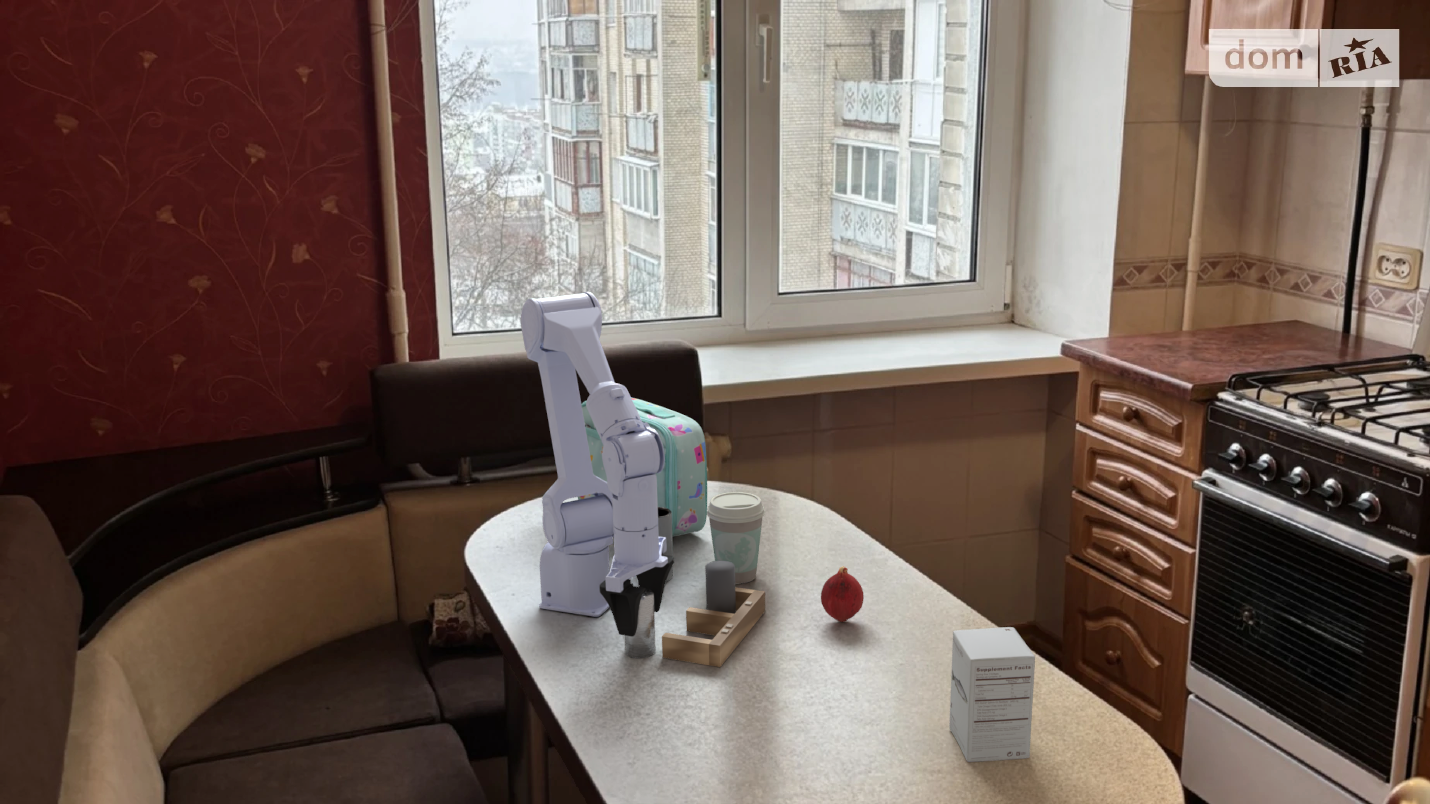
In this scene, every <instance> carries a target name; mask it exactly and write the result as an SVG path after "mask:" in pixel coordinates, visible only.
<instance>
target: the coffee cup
mask: <svg viewBox="0 0 1430 804" xmlns="http://www.w3.org/2000/svg"><path fill="white" fill-rule="evenodd" d="M765 513H766V512H765V507H764V505H763V503H762V499H761V498H760V496H758V495H756V494H753V493H750V492H742V491H732V492H724V493H723V492H722V493H720V494H715V496H713V497H712V498H711V499H710V501H709V504H708V505H707V517H708V519H709V526H710V527H709V528H710V536H711V542H712V549H713V555H714V561H728V562H731V563H733V564H734V565H735V585H739V584H741V583H742V584H747V583H749V582H752V581H753V579H754V580H755V579H756V578H757V570H758V562H759V552H760V544H761V537H762V536H761V533H762V524H763V517H764V516H765V515H766V514H765ZM742 584H741V585H742Z"/></svg>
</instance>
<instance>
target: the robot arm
mask: <svg viewBox="0 0 1430 804" xmlns="http://www.w3.org/2000/svg"><path fill="white" fill-rule="evenodd" d="M520 312H521V313H520V317H519V318H520V320H519V322H520V327H521V328H520V329H521V333H522V340H523V345H524V346H523V347H524V350H525V353H526V357H527V359H528V360H530V361H533V362H535V363H537V365H538V370H539V375H540V379H541V385H542V391H543V398H544V402H545V410H546V413H547V415H546V416H547V419H548V427H549V431H550V438H551V444H552V449H553V455H554V460H555V461H554V462H555V467H556V472H557V479H556V480H555V482H554V483H552V485H551V486H550V487H549V488H548V489H547V491H546V492H545V493H544V494H543V496H542V498H541V499H542V500H541V503H542V504H541V506H542V528H543V533H544V536H545V539H546V541H547V542H546V544H545V545H544V547H543V548H542V550H541V554H540V558H539V579H540V580H539V581H540V596H541V602H540V603H539V604H538V607H539V609H543V610H550V611H555V612H561V613H562V612H563V613H569V614H575V615H581V616H589V617H595V618H598V617H600V616H601V615H603V614H604V613H605V612H606V611H607V610H608V609H610V611H611V613H612V616H613V620H614V623H615V626H616V629H617V632H618V635H620V636H624V635H625V636H632V637H633V636H634V635H635V634H636V630H637V622H638V610H639V605H640V601H641V598H642V595H643V593H644V590H645V589H648V590H651V591H652V592H653V593H654V613H659V612H660V609H661V607H662V606H661V605H662V600H663V596H664V590H665V586H666V584H667V581H666V580H667V577H668V574H669V572H670V569H671V567H672V566H673V567H674V563H675V558H674V556H673V557H672V556H667V555H663V553H665V552H666V551H667V544H666V537H659V533H658V503H657V476H656V475H655V474H656V473H660V472H661V471H662V470H663V468H664V463H665V454H664V448H663V444H662V441H661V439H660V436H659V434H658V433H657V431H656V430H654V429H653V428H651V427H650V426H649V424H648V423H644V422H642V420H641V418H640V416H639V414H638V411H637V409H636V407H635V405H634V403H633V401H632V399H631V398H632V397H631V394H630V393H629V391H628V389H627V387H626V386H625V385H624V384H620V383H616V382H615V379H614V376H613V374H612V370H611V368H610V365H609V362H608V360H607V357H606V354H605V350H604V348H603V346H602V343H601V338H600V337H601V334H602V330H603V329H602V327H603V325H602V324H603V314H602V313H603V312H602V307H601V304H600V302H599V300H598V298H597V297H596V296H595V294H593V292H591V291H583V292H581V293H575V294H573V293H572V294H565V295H558V296H550V297H549V296H547V297H539V298H534V297H533V298H532V297H530V298H527V299H526V300H525V301H524V303H523V305H522V308H521V311H520ZM577 374H578V376H577ZM578 377H579V378H580V380H581V382H582V383H583V385H584V387H585V388H586V390H587V392H588V393H589V396H588V397H587V400H586V401H587V402H586V407H587V410H588V412H589V414H590V416H591V418H592V421H593V423H594V425H595V427H596V430H597V432H598V434H599V436H600V439H601V441H602V443H603V445H604V446H603V453H602V461H603V465H604V469H605V472H606V475H607V482H606V481H604V480H602V479H600V478H599V477H597V476H595V475H594V474H593V470H592V464H591V458H590V452H589V446H588V440H587V435H586V429H585V423H584V417H583V411H582V405H581V404H582V401H581V395H580V390H579V389H580V388H579V383H578V382H579V381H578ZM589 494H592V495H594V497H589V498H584V499H579V500H578V499H576V500H571V501H566V500H569V499H574V498H578V497H579V496H584V495H589ZM610 545H613V550H614V555H613V557H612V560H611V563H610ZM635 576H636V579H637V583H638V586H635V585H634V583H632V580H631V579H632V578H633V577H635Z"/></svg>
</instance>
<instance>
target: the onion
mask: <svg viewBox="0 0 1430 804" xmlns="http://www.w3.org/2000/svg"><path fill="white" fill-rule="evenodd" d="M848 569H849V568H847V567H846V566H844V565H842V566H840V567H839V569H838V571H837V573H835V574H833V575H832V576H830V577H829V578H827V579H826V581H825V582H824V584H823V586H822V589H821V593H820V602H821V605H822V607H823V609H824V611H825V613H827V614H828V616H830V617H831V618H832V619H834V620H836V621H838V622H839V623H845V622H847V621H849V620H850V619H852V618H853V617H854V616H855V615H857V614H858V613H859V612H860V611H861V609H862V608H863V604H864V597H865V595H864V591H863V590H864V589H863V587H862V585H861V583H860V582H859V581H858V580H857V578H856V577H854V575H852V574H850V573H849V572H848V571H849V570H848Z"/></svg>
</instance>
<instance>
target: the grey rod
mask: <svg viewBox="0 0 1430 804" xmlns="http://www.w3.org/2000/svg"><path fill="white" fill-rule="evenodd" d="M655 619H656V618H655V612H654V593H653V592H652V591H651V590H648V589H645V590H644V593H643V595H642V598H641V601H640V605H639V610H638V622H637V630H636V634H635V635H634V636H633V637H632V636H625V635H623V637H624V638H623V639H624V653H625V655H626V656H627V657H630V658H633V659H645V658H648V657H651V656H653V655H654V654H655V653H656V623H655V622H656V621H655Z"/></svg>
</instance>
